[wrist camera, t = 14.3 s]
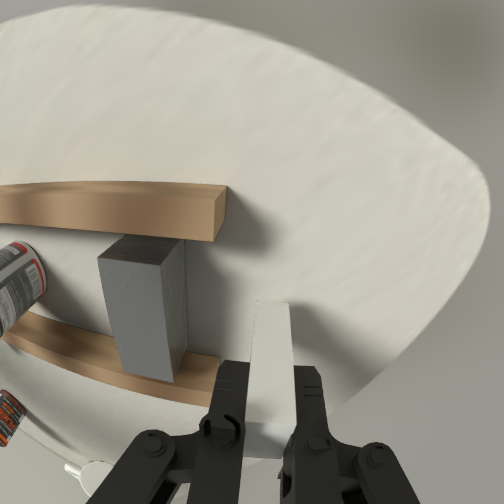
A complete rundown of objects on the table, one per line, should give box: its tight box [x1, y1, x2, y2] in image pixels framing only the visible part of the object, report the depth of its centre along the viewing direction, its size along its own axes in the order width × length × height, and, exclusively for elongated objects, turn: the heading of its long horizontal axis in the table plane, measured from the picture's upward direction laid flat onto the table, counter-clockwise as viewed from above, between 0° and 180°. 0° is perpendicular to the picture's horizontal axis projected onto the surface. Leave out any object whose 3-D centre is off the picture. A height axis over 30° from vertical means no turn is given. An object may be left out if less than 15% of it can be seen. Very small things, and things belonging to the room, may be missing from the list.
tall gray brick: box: [97, 234, 189, 383], centre depth 13 cm, size 3×7×4 cm, turn 175°
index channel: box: [0, 181, 227, 407], centre depth 14 cm, size 21×12×3 cm, turn 85°
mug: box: [65, 461, 114, 497], centre depth 28 cm, size 12×10×8 cm
